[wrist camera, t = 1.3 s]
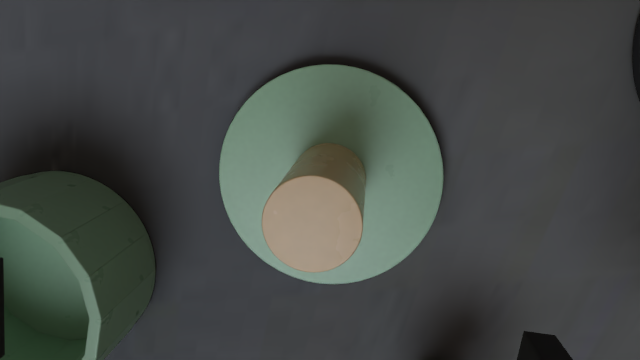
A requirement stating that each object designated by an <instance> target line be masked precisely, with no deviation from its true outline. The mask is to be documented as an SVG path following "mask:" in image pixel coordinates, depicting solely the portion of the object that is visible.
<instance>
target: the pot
mask: <svg viewBox="0 0 640 360" xmlns="http://www.w3.org/2000/svg"><path fill="white" fill-rule="evenodd" d="M0 257H2V258H3V267H4V331H5V355H4V356H3V357H2V358H0V360H104V359H105V358H106V357H107V356H108V354H109V353H110V352H111V351H112V350H113V349H114V348H115V347H116V346H117V344H118V343H119V342H120V341H121V340H122V339H123V338H124V337H125V336H126V334H127V333H128V332H129V331H130V330H131V329H132V327H133V326H134V324H135V323H136V321H137V320H138V319H139V317H140V316H141V315H142V314H143V312H144V310H145V309H146V307H147V305H148V303H149V301H150V298H151V296H152V292H153V288H154V284H155V273H156V271H155V258H154V252H153V248H152V245H151V241H150V238H149V236H148V234H147V232H146V229H145V227H144V225H143V224H142V222H141V220H140V219H139V217H138V216H137V214H136V213H135V212H134V211H133V209H132V208H131V207H130V206H129V205H128V204H127V203H126V202H125V201H124V200H123V199H122V198H121V197H120V196H119V195H118V194H116V193H115V192H114V191H113V190H111V189H110V188H108V187H107V186H105V185H103V184H102V183H100V182H98V181H96V180H93V179H91V178H89V177H86V176H83V175H80V174H76V173H71V172H65V171H45V172H38V173H34V174H30V175H24V176H19V177H16V178H13V179H10V180H7V181H4V182H1V183H0Z"/></svg>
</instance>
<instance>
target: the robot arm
mask: <svg viewBox="0 0 640 360" xmlns="http://www.w3.org/2000/svg"><path fill="white" fill-rule="evenodd" d="M633 73H634V81H635V86H636V90H637V94H638V97H639V100H640V16H639V20H638V23H637V27H636V32H635V37H634V46H633ZM4 355H5V331H4V267H3V258H2V257H0V358H2V357H3V356H4ZM517 360H573V359H572V358H571V357H570V355H569V354H568V353H567V351H566V350H565V348H564V347H563V346H562V344H561V343H560V342H559V340H558V339H557V337H556V336H555V335H548V334H541V333H534V332H527V331H524V333H523V337H522V341H521V345H520V349H519V354H518V358H517Z"/></svg>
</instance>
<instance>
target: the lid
mask: <svg viewBox="0 0 640 360" xmlns="http://www.w3.org/2000/svg"><path fill="white" fill-rule="evenodd" d="M443 178H444V176H443V161H442V156H441V151H440V147H439V144H438V141H437V138H436V135H435V133H434V131H433V129H432V127H431V125H430V123H429V121H428V119H427V118H426V116H425V115H424V113H423V112H422V111H421V109H420V108H419V107H418V105H417V104H416V103H415V102H414V101H413V100H412V99H411V98H410V97H409V96H408V95H407V94H406V93H405V92H404V91H402V90H401V89H400V88H399V87H398V86H396V85H395V84H393V83H391V82H390V81H388V80H387V79H385V78H383V77H381V76H379V75H377V74H375V73H372V72H370V71H367V70H364V69H360V68H357V67H352V66H346V65H337V64H323V65H313V66H307V67H303V68H299V69H295V70H292V71H290V72H287V73H285V74H282V75H280V76H278V77H276V78H275V79H273V80H271V81H269V82H268V83H266V84H265V85H264V86H262V87H261V88H260V89H258V90H257V91H256V92H255V93H254V94H253V95H252V96H251V97H250V98H249V99H248V100H247V101H246V102H245V103H244V104H243V106H242V107H241V108H240V110H239V111H238V112H237V114H236V115H235V117H234V119H233V121H232V123H231V124H230V126H229V129H228V131H227V134H226V136H225V139H224V142H223V146H222V150H221V155H220V164H219V182H220V189H221V195H222V199H223V202H224V206H225V209H226V212H227V214H228V216H229V219H230V221H231V223H232V224H233V226H234V228H235V230H236V231H237V233H238V234H239V236H240V237H241V238H242V240H243V241H244V242H245V244H246V245H247V246H248V247H249V248H250V249H251V250H252V251H253V252H254V253H255V254H256V255H257V256H258V257H260V258H261V259H262V260H263V261H265V262H266V263H267V264H269V265H270V266H272V267H274V268H275V269H277V270H279V271H281V272H283V273H285V274H287V275H289V276H292V277H295V278H298V279H301V280H304V281H309V282H314V283H321V284H346V283H352V282H357V281H362V280H365V279H368V278H371V277H374V276H377V275H379V274H381V273H383V272H385V271H387V270H389V269H390V268H392V267H394V266H395V265H397V264H398V263H400V262H401V261H402V260H403V259H405V258H406V257H407V256H408V255H409V254H410V253H411V252H412V251H413V250H414V249H415V248H416V247H417V246H418V245H419V244H420V242H421V241H422V240H423V238H424V237H425V235H426V234H427V233H428V231H429V229H430V227H431V225H432V223H433V221H434V219H435V217H436V214H437V211H438V208H439V205H440V201H441V196H442V191H443Z"/></svg>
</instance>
